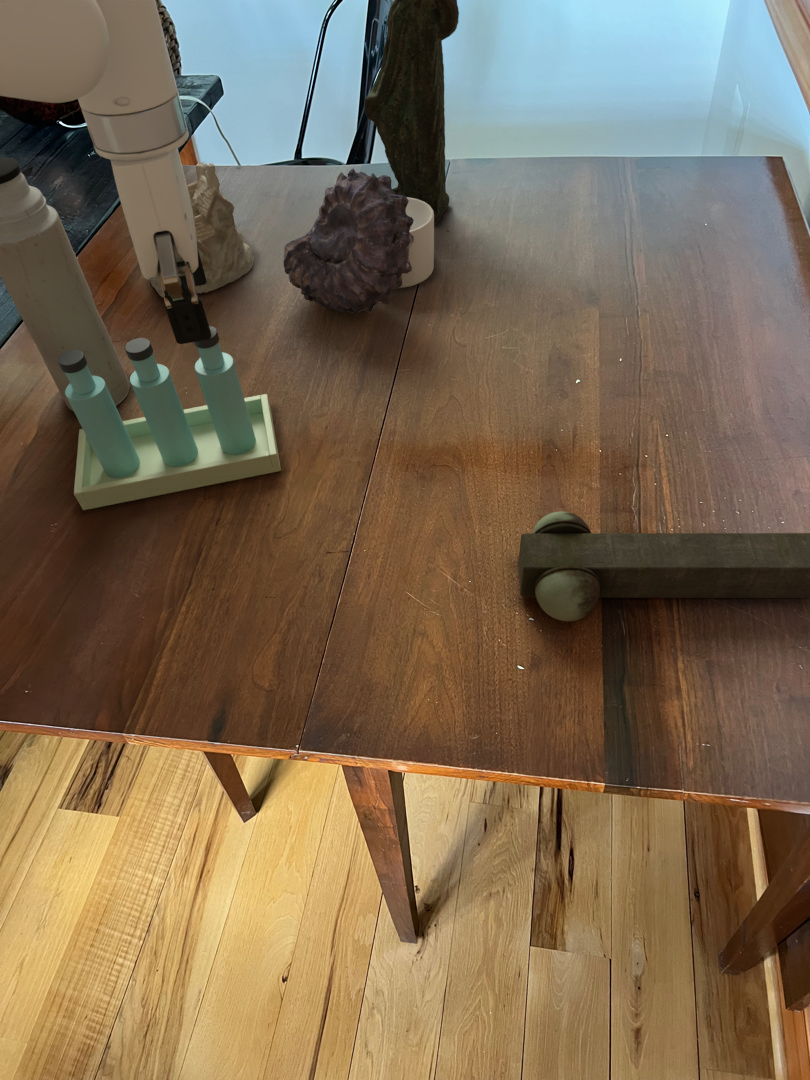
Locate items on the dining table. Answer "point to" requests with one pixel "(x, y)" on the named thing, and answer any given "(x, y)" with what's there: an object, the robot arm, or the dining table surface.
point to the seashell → (353, 246)
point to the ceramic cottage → (215, 233)
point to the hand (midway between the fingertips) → (192, 311)
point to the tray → (163, 479)
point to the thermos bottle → (51, 285)
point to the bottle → (224, 396)
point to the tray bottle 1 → (98, 416)
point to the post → (655, 565)
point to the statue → (414, 98)
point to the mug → (420, 242)
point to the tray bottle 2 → (160, 405)
